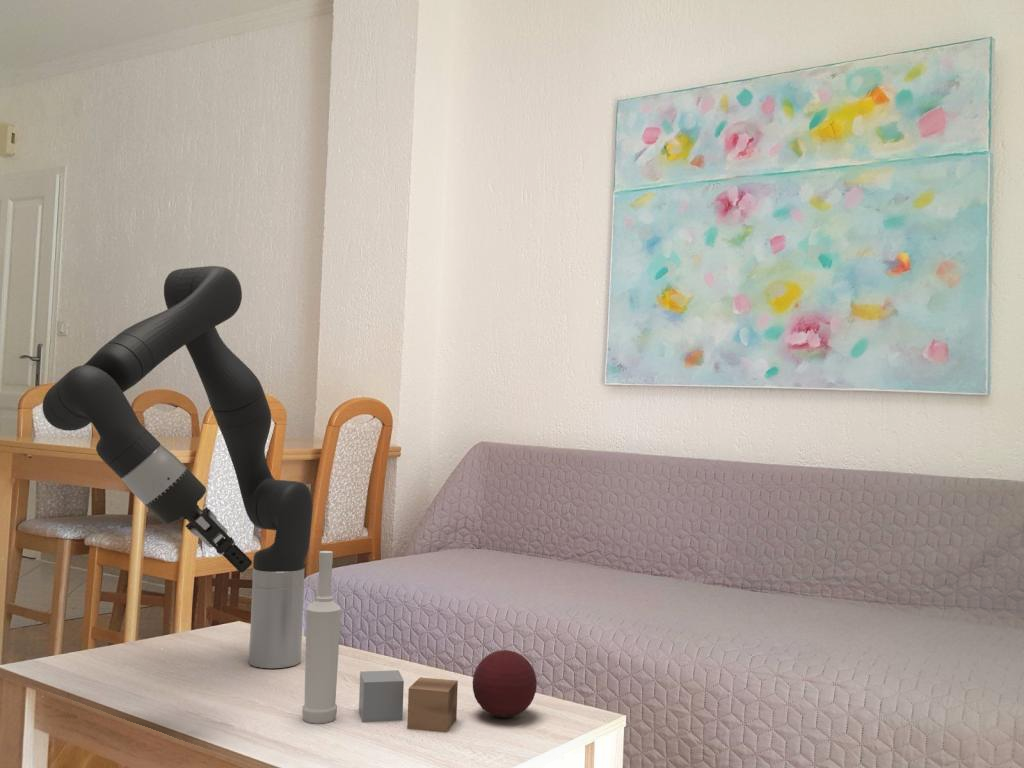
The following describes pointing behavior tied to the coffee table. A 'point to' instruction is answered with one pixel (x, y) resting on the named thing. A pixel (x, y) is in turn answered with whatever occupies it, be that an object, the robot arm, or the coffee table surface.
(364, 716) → the slate grey cube
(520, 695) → the decorative ball
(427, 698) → the walnut cube
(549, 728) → the coffee table surface
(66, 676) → the coffee table surface
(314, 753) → the coffee table surface
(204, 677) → the coffee table surface
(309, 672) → the bottle
